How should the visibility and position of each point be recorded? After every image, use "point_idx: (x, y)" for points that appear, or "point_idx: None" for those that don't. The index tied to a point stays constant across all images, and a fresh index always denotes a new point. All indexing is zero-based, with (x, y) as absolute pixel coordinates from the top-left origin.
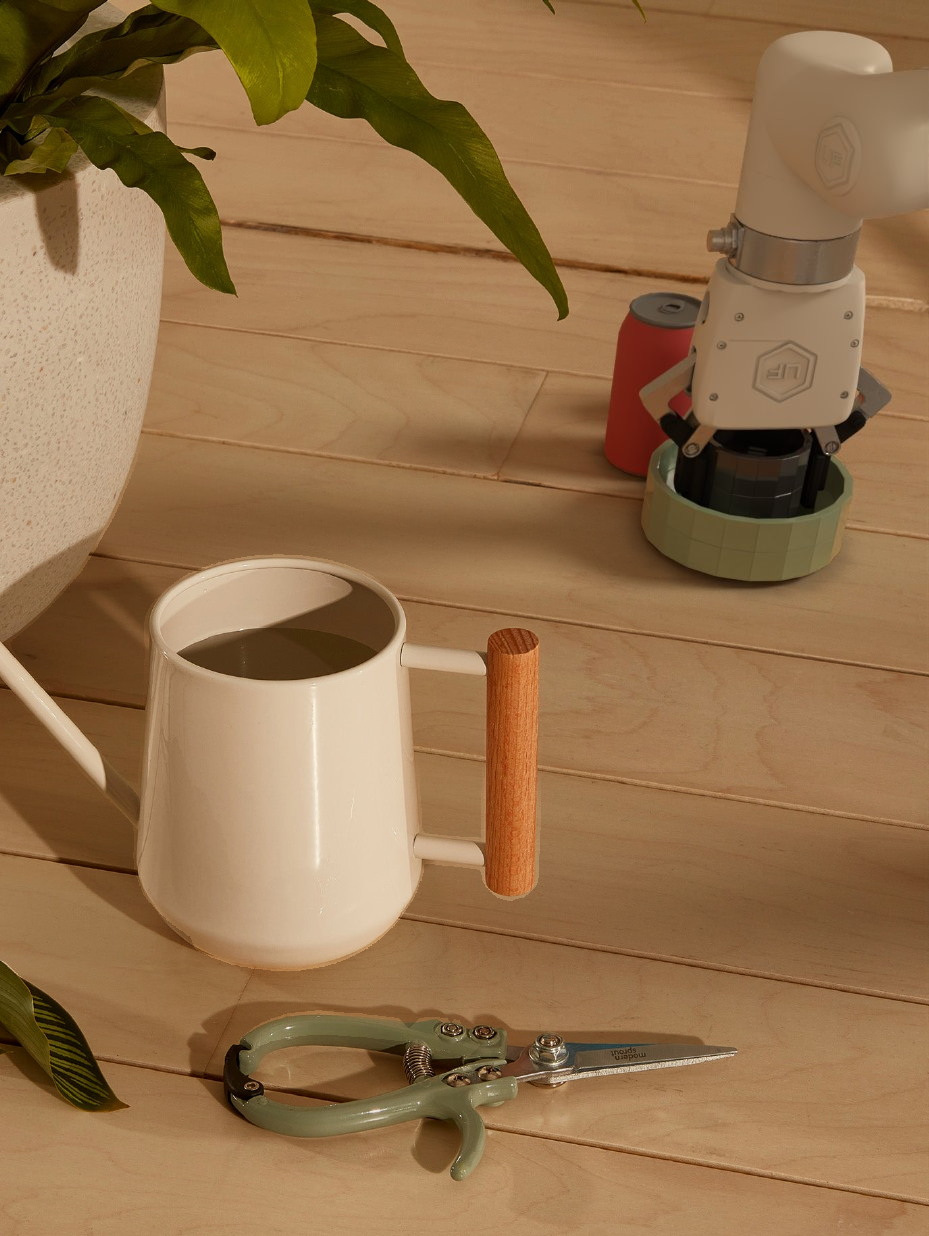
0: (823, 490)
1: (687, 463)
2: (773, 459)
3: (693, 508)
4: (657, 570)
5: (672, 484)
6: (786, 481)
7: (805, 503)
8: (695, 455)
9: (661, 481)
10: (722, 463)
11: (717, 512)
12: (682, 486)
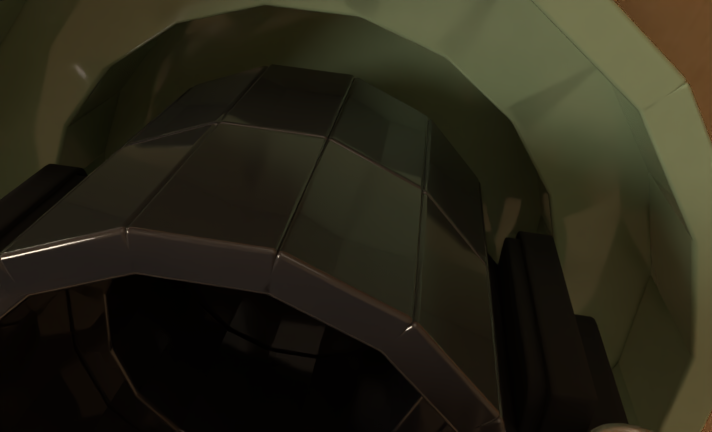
0: None
1: (600, 412)
2: (180, 244)
3: (691, 96)
4: (682, 48)
5: None
6: (133, 168)
7: (79, 180)
8: (606, 429)
9: (707, 355)
10: (474, 337)
11: (580, 28)
12: (584, 327)
